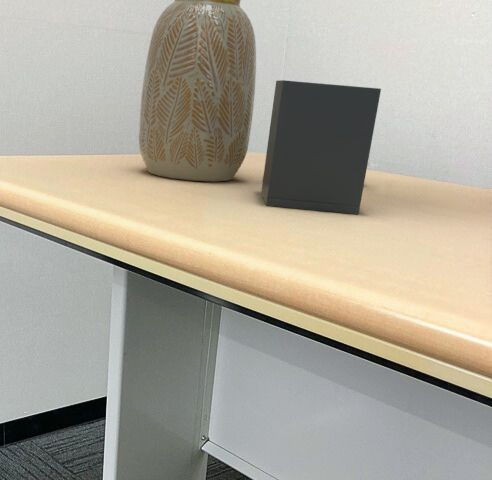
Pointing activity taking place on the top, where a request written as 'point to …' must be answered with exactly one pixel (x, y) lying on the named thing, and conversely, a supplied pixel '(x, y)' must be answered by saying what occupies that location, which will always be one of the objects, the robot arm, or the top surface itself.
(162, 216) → the top surface
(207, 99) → the vase
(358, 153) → the dark grey block
